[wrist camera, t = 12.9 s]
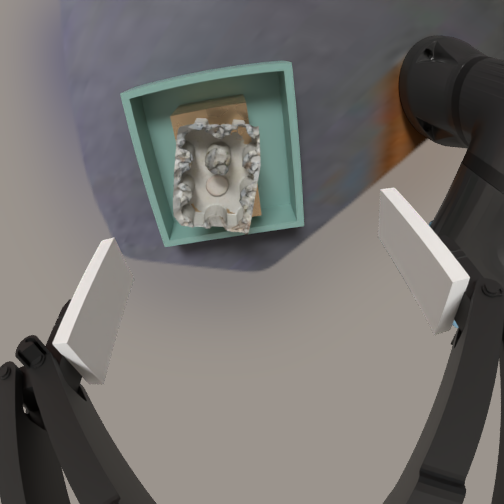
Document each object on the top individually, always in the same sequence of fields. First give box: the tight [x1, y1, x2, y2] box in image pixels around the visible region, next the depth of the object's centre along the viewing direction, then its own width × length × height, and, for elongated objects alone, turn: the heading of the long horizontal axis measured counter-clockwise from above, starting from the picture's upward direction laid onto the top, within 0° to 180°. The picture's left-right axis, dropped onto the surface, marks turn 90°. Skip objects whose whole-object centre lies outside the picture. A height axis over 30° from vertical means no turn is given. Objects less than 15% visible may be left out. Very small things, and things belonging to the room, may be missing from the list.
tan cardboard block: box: [170, 94, 262, 217], centre depth 32 cm, size 7×12×6 cm, turn 7°
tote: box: [120, 61, 304, 247], centre depth 33 cm, size 17×19×5 cm
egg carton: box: [173, 118, 261, 235], centre depth 28 cm, size 11×8×4 cm
